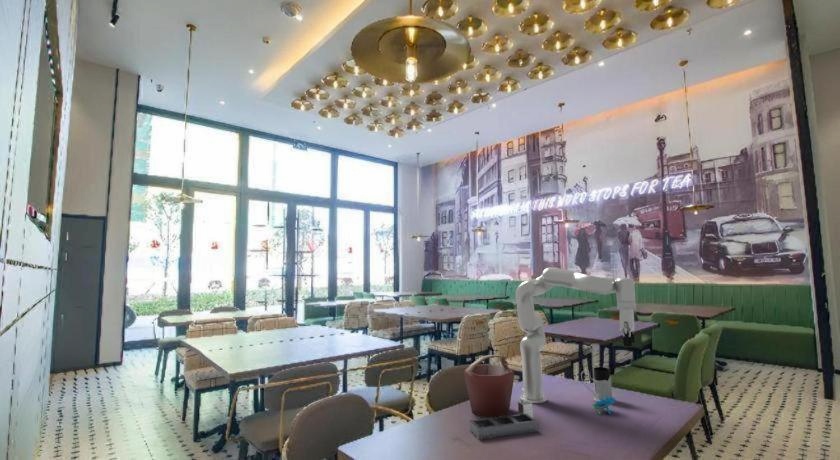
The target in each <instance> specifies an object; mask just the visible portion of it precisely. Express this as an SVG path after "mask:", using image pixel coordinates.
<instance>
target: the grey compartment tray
mask: <svg viewBox="0 0 840 460" xmlns="http://www.w3.org/2000/svg"><path fill="white" fill-rule="evenodd" d="M538 422H539V420H537V419H536V418H534V417H533V418H532V417H531V416H529V415H528V414H526V413H525V414H519V413H518V414H513V415H503V416H501V417H486V418H480V419H472V420H469V431H470V433H472V432H473V433H474V434H475V435H476V436H477V437H478V438H479V439H481V438H488V439H491V438H490V437H495V438H497V437H496V436H502V437H505V436H504V435H509V436H514V435H513V434H516V435H522V434H521V433H523V434H529V433H528V432H530V433H537V432H539V423H538ZM473 433H472V434H473ZM474 434H473V435H474ZM475 435H474V436H475ZM476 436H475V437H476ZM477 437H476V438H477ZM478 438H477V439H478ZM479 439H478V440H479ZM481 440H482V439H481Z"/></svg>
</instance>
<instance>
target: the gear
mask: <svg viewBox="0 0 840 460" xmlns="http://www.w3.org/2000/svg"><path fill="white" fill-rule="evenodd" d="M600 400H601V401H596V403H592V404H591V406H592V407H593V408H594V410H595V411H596V412H597V413H598V414H599V415H601V414H602V413H601V411H600V410H604V409H606V412H607V413H608V414H609V415H612V412H611V410H610V408H609V406H612V405H613V404H615V402H616V398H614V397H613V396H612V397H610V399H609V398H608V397H606V398H605V400H604V399H603V398H602V399H600Z"/></svg>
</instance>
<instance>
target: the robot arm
mask: <svg viewBox="0 0 840 460" xmlns="http://www.w3.org/2000/svg"><path fill="white" fill-rule="evenodd" d="M555 286H558V287H565V288H568V289H569V288H570V289H572V290H579V291H582V292H587V293H593V294H598V295H609V294H615V293H616V306H617V307H616V308H617V309H618V310H619V331H620V332H623V333H622V341H623V342H622V343H623V346H624V347H633V344H634V343H635V341H636V340H635V334H634V333H635V332H634V331H635V313H634V312H635V311H634V310H636V309H637V304H636V302H637V301H636V288H635V280H634V279H633V278H631V277H617V278H616V277H605V276H604V277H600V276H594V275H588V274H585V273H581V272H580V271H576V270H570V269H563V268H559V267H558V266H557V267H556V266H555V267H554V266H553V267H550V266H549V267H546V268H545V269H544V270H543V271H542V273H541V275H540V276H539V277H536V278H534V279H533V278H532V279H527V280H524V281H523V282H521V283H520V284H519V285H518V286H517V288H516V291H515V301H516V309H517V310H516V311H517V318H518V324H519V328H520V330H521V331H522V332H524V333H526V335H525V336H524V337H523V338H522V339H521V340H520V343H519V349H520V356H521V366H522V367H521V369H522V388H521V391H523V392H522V394H521V395H520V400H521V401H529V402H530V403H532V404H543V403H545V402H547V396H545V395H544V388H543V387H544V386H543V384H544V383H543V371H542V370H543V368H542V357H541V354H540V353H541V351H543V350H544V348H545V347H546V345H547V340H546V333H545V326H544V321H543V318H542V316H541V315H540V314H539V313H537V312H535V305H534V302H533V297H536V296H541V295H544V294H545V293H546V292H548V291H549V290H551V289H553V288H554V287H555Z"/></svg>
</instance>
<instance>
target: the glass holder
mask: <svg viewBox="0 0 840 460" xmlns="http://www.w3.org/2000/svg"><path fill="white" fill-rule="evenodd" d="M584 372H586V373H588V374H589V378H590V380H591V381H593V384H594V385H593V388H594V391H593V390H592V389H591V388H589V387H588V386H587V385H586V383H585V382H584V380H583V373H584ZM611 375H612V374H611V369H610V368H608V367H602V366H601V367H600V366H594V367H593V378H592V377H591V373H590V371H588V370H583V371H581V374H580V376H581V377H580V378H581V381H582V383H583V386H585V388H586V389H588V390H589V391H590V392H591V393H592V394H593V396H594V398H593V399H594V401H596V402H597V401H601V400H600V399H602V398H603V399H604V400H605V398H606V397H608V398H609V399H610V397H613V390H612V389H613V388H612V387H613V386H612V376H611Z"/></svg>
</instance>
